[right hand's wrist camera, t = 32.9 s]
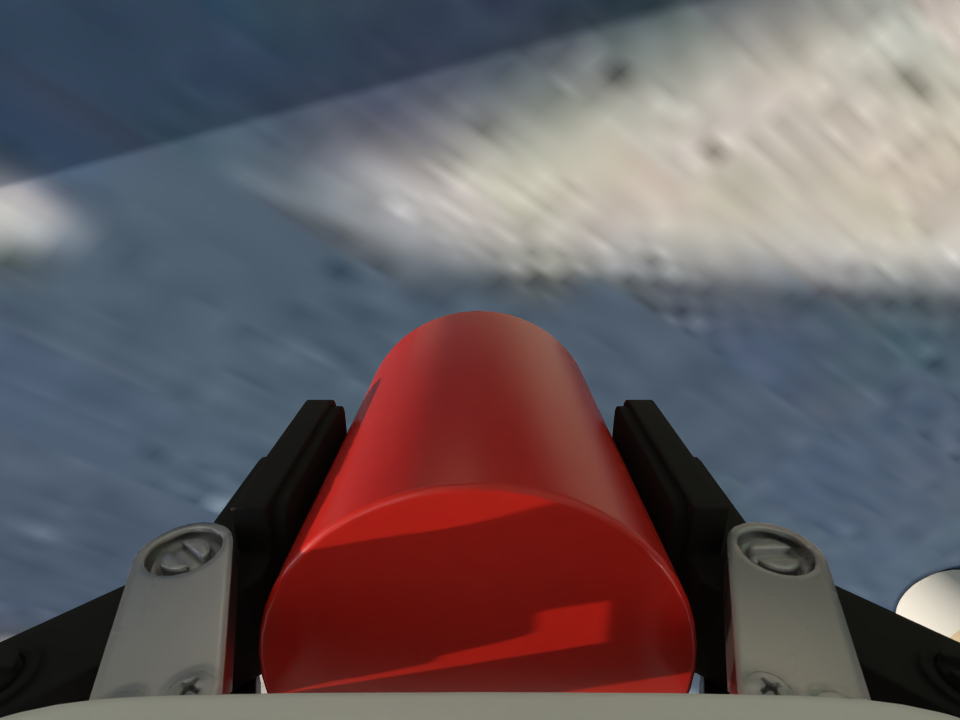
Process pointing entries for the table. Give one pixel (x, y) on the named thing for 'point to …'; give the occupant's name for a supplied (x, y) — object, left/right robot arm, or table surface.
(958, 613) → the coffee cup
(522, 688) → the canister
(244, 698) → the right robot arm
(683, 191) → the table surface
